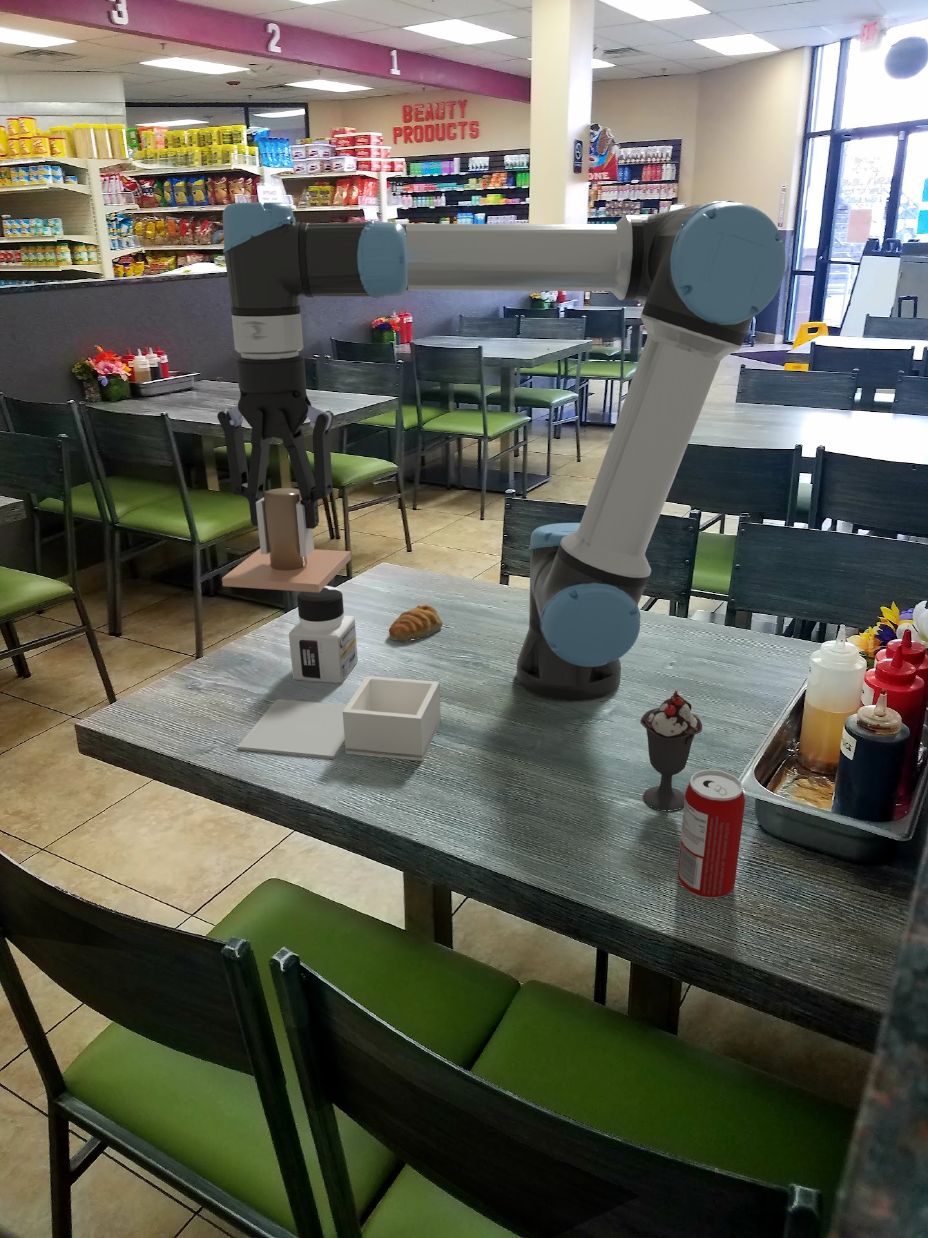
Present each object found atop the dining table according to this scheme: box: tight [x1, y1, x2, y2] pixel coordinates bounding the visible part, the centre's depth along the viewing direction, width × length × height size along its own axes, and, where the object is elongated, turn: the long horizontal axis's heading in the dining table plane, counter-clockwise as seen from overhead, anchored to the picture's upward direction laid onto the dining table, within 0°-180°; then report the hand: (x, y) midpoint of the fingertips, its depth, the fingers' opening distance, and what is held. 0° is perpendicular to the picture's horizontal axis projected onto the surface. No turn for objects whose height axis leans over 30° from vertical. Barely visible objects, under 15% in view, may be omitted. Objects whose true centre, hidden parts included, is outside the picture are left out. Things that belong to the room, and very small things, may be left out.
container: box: [288, 585, 359, 684], centre depth 133 cm, size 8×8×13 cm
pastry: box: [388, 604, 444, 643], centre depth 148 cm, size 9×7×4 cm
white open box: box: [343, 675, 442, 762], centre depth 116 cm, size 10×10×6 cm
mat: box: [236, 698, 347, 760], centre depth 120 cm, size 13×13×1 cm
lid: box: [221, 487, 352, 592], centre depth 109 cm, size 12×12×10 cm
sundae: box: [639, 690, 703, 812], centre depth 101 cm, size 7×7×15 cm
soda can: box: [677, 769, 746, 900], centre depth 88 cm, size 6×6×12 cm
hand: (287, 551), depth 110 cm, fingers closed on lid, 4 cm apart
